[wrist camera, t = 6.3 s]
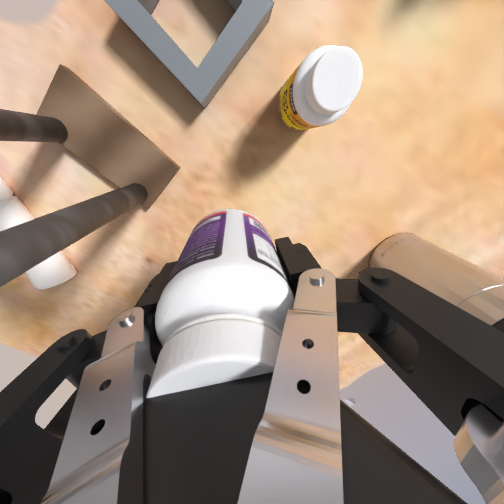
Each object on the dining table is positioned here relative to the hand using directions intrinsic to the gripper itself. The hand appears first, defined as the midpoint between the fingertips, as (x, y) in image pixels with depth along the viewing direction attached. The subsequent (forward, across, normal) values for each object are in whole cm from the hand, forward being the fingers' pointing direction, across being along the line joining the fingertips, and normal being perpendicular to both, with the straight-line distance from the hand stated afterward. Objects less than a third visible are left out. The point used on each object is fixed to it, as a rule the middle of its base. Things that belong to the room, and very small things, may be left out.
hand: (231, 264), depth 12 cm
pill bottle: (+3, 0, 0) cm, 3 cm away
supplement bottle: (+20, -10, -9) cm, 24 cm away
